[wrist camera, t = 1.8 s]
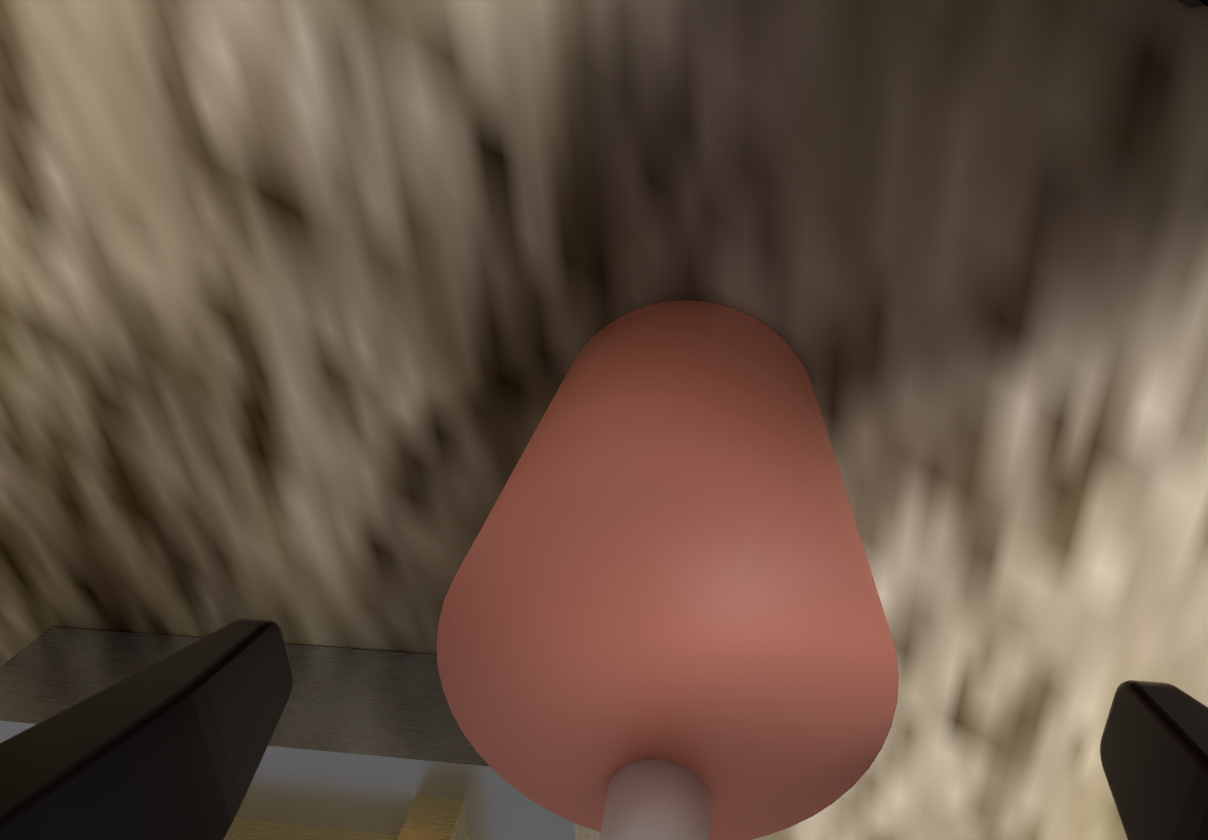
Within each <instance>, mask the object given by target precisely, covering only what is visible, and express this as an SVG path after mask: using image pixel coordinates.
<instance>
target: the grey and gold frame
mask: <svg viewBox="0 0 1208 840" xmlns="http://www.w3.org/2000/svg"><path fill="white" fill-rule="evenodd" d="M200 639H202V638H200V637H186V636H172V635H158V634H144V633H131V632H117V631H103V630H89V629H76V628H62V627H51V628H49V629H48V630H47V631H46V632H44V633H43V634H42V635H41V636H39V637H38V638H37V639H36V640H34V641H33V642H32V643H31V644H29V645H28V646H27V647H26V648H24V649H23V650H22V651H21V652H19V653H18V654H17V655H16V656H14V657H13V658H12V659H11V660H9V661H8V662H7V663H6V664H4V665H3V666H2V667H1V668H0V743H1V742H3V741H5V740H7V739H9V738H11V737H13V736H15V735H17V734H19V733H21V732H23V731H24V730H26V729H28V728H30V727H32V726H34V725H36V724H38V723H40V722H42V721H44V720H46V719H48V718H49V717H51V716H53V715H55V714H57V713H59V712H61V711H63V710H65V709H67V708H69V707H71V706H73V705H75V704H76V703H78V702H80V701H82V700H84V699H86V698H88V697H90V696H92V695H94V694H96V693H98V692H100V691H101V690H103V689H105V688H107V687H109V686H111V685H113V684H115V683H117V682H119V681H121V680H123V679H125V678H126V677H128V676H130V675H132V674H134V673H136V672H138V671H140V670H142V669H144V668H146V667H148V666H150V665H152V664H153V663H155V662H157V661H159V660H161V659H163V658H165V657H167V656H169V655H171V654H173V653H175V652H177V651H178V650H180V649H182V648H184V647H186V646H188V645H190V644H192V643H194V642H196V641H198V640H200ZM285 648H286V652H287V656H288V660H289V664H290V668H291V672H292V689H291V693H290V696H289V699H288V702H287V704H286V706H285V708H284V710H283V713H282V715H281V717H280V719H279V722H278V724H277V726H276V728H275V731H274V733H273V735H272V737H271V740H270V742H269V744H268V746H267V749H266V751H265V753H264V755H263V758H262V760H261V762H260V764H259V767H258V769H257V771H256V773H255V776H254V778H253V780H252V782H251V784H250V787H249V789H248V791H247V793H246V796H245V798H244V800H243V802H242V804H241V807H240V809H239V811H238V813H237V815H236V817H235V819H234V821H233V823H232V825H231V827H230V829H229V831H228V832H227V834H226V836H225V838H224V840H600V835H601V832H598V831H595V830H592V829H589V828H586V827H583V826H580V825H578V824H576V823H574V822H572V821H569V820H567V819H565V818H563V817H560V816H558V815H556V814H554V813H553V812H551V811H549V810H547V809H545V808H544V807H542V806H540V805H538V804H537V803H535V802H533V801H532V800H530V799H529V798H528V797H526V796H525V795H523V794H522V793H520V792H519V791H518V790H516V789H515V788H513V787H512V786H511V785H510V784H509V783H508V782H506V781H505V780H504V779H503V778H502V777H501V776H499V775H498V774H497V773H496V772H495V771H494V770H493V769H492V768H491V767H490V766H489V765H488V764H487V763H486V762H485V760H484V759H483V758H482V757H481V756H480V755H479V754H478V753H477V752H476V750H475V749H474V747H473V746H472V745H471V743H470V742H469V741H468V739H467V738H466V737H465V735H464V734H463V732H462V730H461V729H460V727H459V725H458V723H457V721H456V719H455V718H454V716H453V714H452V712H451V710H450V707H449V704H448V702H447V699H446V697H445V694H444V692H443V688H442V684H441V679H440V675H439V670H438V662H437V655H434V654H420V653H406V652H392V651H379V650H365V649H351V648H337V647H323V646H310V645H296V644H285Z"/></svg>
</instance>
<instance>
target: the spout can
mask: <svg viewBox="0 0 1208 840" xmlns="http://www.w3.org/2000/svg"><path fill="white" fill-rule="evenodd" d="M436 648H437V662H438V670H439V675H440V679H441V684H442V688H443V692H444V694H445V697H446V699H447V702H448V704H449V707H450V710H451V712H452V714H453V716H454V718H455V719H456V721H457V723H458V725H459V727H460V729H461V730H462V732H463V734H464V735H465V737H466V738H467V739H468V741H469V742H470V743H471V745H472V746H473V747H474V749H475V750H476V752H477V753H478V754H479V755H480V756H481V757H482V758H483V759H484V760H485V762H486V763H487V764H488V765H489V766H490V767H491V768H492V769H493V770H494V771H495V772H496V773H497V774H498V775H499V776H501V777H502V778H503V779H504V780H505V781H506V782H508V783H509V784H510V785H511V786H512V787H513V788H515V789H516V790H518V791H519V792H520V793H522V794H523V795H525V796H526V797H528V798H529V799H530V800H532V801H533V802H535V803H537V804H538V805H540V806H542V807H544V808H545V809H547V810H549V811H551V812H553V813H554V814H556V815H558V816H560V817H563V818H565V819H567V820H569V821H572V822H574V823H576V824H578V825H580V826H583V827H586V828H589V829H592V830H595V831H598V832H601V835H600V840H749V839H754V838H758V837H762V836H766V835H769V834H772V833H775V832H777V831H780V830H783V829H786V828H789V827H791V826H793V825H795V824H797V823H799V822H801V821H804V820H806V819H808V818H810V817H812V816H814V815H815V814H817V813H818V812H820V811H821V810H823V809H824V808H826V807H828V806H829V805H831V804H832V803H834V802H835V801H836V800H837V799H838V798H840V797H841V796H842V795H843V794H844V793H846V792H847V791H848V790H849V789H850V788H851V787H853V785H854V784H855V783H856V782H857V781H858V780H859V779H860V778H861V776H862V775H863V774H864V773H865V772H866V771H867V770H868V769H869V767H870V766H871V764H872V762H873V761H874V759H875V758H876V756H877V755H878V753H879V752H880V750H881V749H882V746H883V744H884V742H885V739H886V737H887V735H888V733H889V730H890V728H891V725H892V721H893V717H894V713H895V709H896V705H897V695H898V680H899V677H898V668H897V659H896V652H895V648H894V645H893V641H892V638H891V634H890V631H889V627H888V624H887V621H886V618H885V614H884V611H883V608H882V605H881V602H880V599H879V595H878V592H877V589H876V586H875V583H874V579H873V576H872V573H871V570H870V567H869V564H868V560H867V557H866V554H865V551H864V548H863V544H862V541H861V538H860V535H859V532H858V528H857V525H856V522H855V519H854V516H853V513H852V509H851V506H850V503H849V500H848V497H847V493H846V490H845V487H844V484H843V481H842V478H841V474H840V471H839V468H838V465H837V462H836V458H835V455H834V452H833V449H832V446H831V442H830V439H829V436H828V433H827V430H826V427H825V423H824V420H823V417H822V414H821V411H820V407H819V404H818V401H817V398H816V395H815V392H814V388H813V385H812V382H811V380H810V378H809V376H808V373H807V371H806V369H805V367H804V365H803V364H802V362H801V361H800V359H799V358H798V356H797V355H796V353H795V352H794V351H793V350H792V348H791V347H790V346H789V345H788V344H787V343H786V342H785V340H784V339H782V338H781V337H780V336H779V335H778V334H777V333H776V332H774V331H773V330H772V329H771V328H770V327H768V326H767V325H765V324H764V323H762V322H761V321H759V320H758V319H756V318H754V317H752V316H750V315H748V314H746V313H744V312H742V311H739V310H736V309H733V308H730V307H727V306H725V305H721V304H716V303H711V302H706V301H692V300H680V301H667V302H662V303H657V304H651V305H648V306H645V307H642V308H639V309H636V310H633V311H631V312H629V313H627V314H625V315H623V316H621V317H619V318H617V319H616V320H614V321H613V322H611V323H610V324H608V325H607V326H605V327H604V328H602V329H601V330H600V331H599V332H598V333H597V334H596V335H594V336H593V337H592V338H591V339H590V340H589V342H588V343H587V344H586V345H585V346H584V347H583V348H582V350H581V351H580V352H579V354H578V355H577V357H576V359H575V360H574V362H573V363H572V365H571V367H570V368H569V370H568V372H567V374H566V376H565V378H564V379H563V381H562V383H561V385H560V387H559V388H558V390H557V392H556V394H555V396H554V397H553V399H552V401H551V403H550V405H549V407H548V408H547V410H546V412H545V414H544V416H543V417H542V419H541V421H540V423H539V425H538V427H537V428H536V430H535V432H534V434H533V436H532V437H531V439H530V441H529V443H528V445H527V446H526V448H525V450H524V452H523V454H522V456H521V457H520V459H519V461H518V463H517V465H516V466H515V468H514V470H513V472H512V474H511V475H510V477H509V479H508V481H507V483H506V485H505V486H504V488H503V490H502V492H501V494H500V495H499V497H498V499H497V501H496V503H495V504H494V506H493V508H492V510H491V512H490V514H489V515H488V517H487V519H486V521H485V523H484V524H483V526H482V528H481V530H480V532H479V534H478V535H477V537H476V539H475V541H474V543H473V544H472V546H471V548H470V550H469V552H468V553H467V555H466V557H465V559H464V561H463V563H462V564H461V566H460V568H459V570H458V572H457V573H456V575H455V577H454V579H453V581H452V584H451V586H450V588H449V590H448V592H447V595H446V597H445V599H444V603H443V606H442V610H441V614H440V618H439V622H438V632H437V643H436Z"/></svg>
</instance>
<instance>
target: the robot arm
mask: <svg viewBox="0 0 1208 840" xmlns="http://www.w3.org/2000/svg"><path fill="white" fill-rule="evenodd" d="M1178 1H1180V2H1181V3H1182V4H1184V5H1185V6H1186V7H1188V8H1189V9H1194V10H1200V11H1208V0H1178ZM291 689H292V672H291V668H290V664H289V660H288V656H287V652H286V648H285V644H284V640H283V636H282V632H281V629H280V627H279V626H278V625H277V623H276V622H274V621H271V620H263V619H248V618H246V619H239V620H236V621H234V622H232V623H230V624H228V625H227V626H225V627H223V628H221V629H219V630H217V631H215V632H213V633H211V634H209V635H207V636H205V637H203V638H202V639H200V640H198V641H196V642H194V643H192V644H190V645H188V646H186V647H184V648H182V649H180V650H178V651H177V652H175V653H173V654H171V655H169V656H167V657H165V658H163V659H161V660H159V661H157V662H155V663H153V664H152V665H150V666H148V667H146V668H144V669H142V670H140V671H138V672H136V673H134V674H132V675H130V676H128V677H126V678H125V679H123V680H121V681H119V682H117V683H115V684H113V685H111V686H109V687H107V688H105V689H103V690H101V691H100V692H98V693H96V694H94V695H92V696H90V697H88V698H86V699H84V700H82V701H80V702H78V703H76V704H75V705H73V706H71V707H69V708H67V709H65V710H63V711H61V712H59V713H57V714H55V715H53V716H51V717H49V718H48V719H46V720H44V721H42V722H40V723H38V724H36V725H34V726H32V727H30V728H28V729H26V730H24V731H23V732H21V733H19V734H17V735H15V736H13V737H11V738H9V739H7V740H5V741H3V742H1V743H0V840H224V838H225V836H226V834H227V832H228V831H229V829H230V827H231V825H232V823H233V821H234V819H235V817H236V815H237V813H238V811H239V809H240V807H241V804H242V802H243V800H244V798H245V796H246V793H247V791H248V789H249V787H250V784H251V782H252V780H253V778H254V776H255V773H256V771H257V769H258V767H259V764H260V762H261V760H262V758H263V755H264V753H265V751H266V749H267V746H268V744H269V742H270V740H271V737H272V735H273V733H274V731H275V728H276V726H277V724H278V722H279V719H280V717H281V715H282V713H283V710H284V708H285V706H286V704H287V702H288V699H289V696H290V693H291ZM1100 754H1101V761H1102V766H1103V769H1104V772H1105V775H1106V778H1107V781H1108V784H1109V787H1110V790H1111V792H1112V795H1113V798H1114V801H1115V804H1116V807H1117V810H1118V813H1119V816H1120V819H1121V822H1122V824H1123V827H1124V830H1125V833H1126V836H1127V839H1128V840H1208V707H1206V706H1205V705H1203V704H1202V703H1200V702H1199V701H1197V700H1196V699H1194V698H1192V697H1191V696H1189V695H1188V694H1186V693H1185V692H1183V691H1182V690H1180V689H1178V688H1177V687H1175V686H1173V685H1170V684H1167V683H1161V682H1146V681H1132V680H1131V681H1126V682H1123V683H1122V684H1120V686H1119V687H1118V688H1117V690H1116V693H1115V696H1114V699H1113V702H1112V706H1111V709H1110V712H1109V716H1108V719H1107V722H1106V725H1105V729H1104V732H1103V735H1102V739H1101V745H1100Z"/></svg>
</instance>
